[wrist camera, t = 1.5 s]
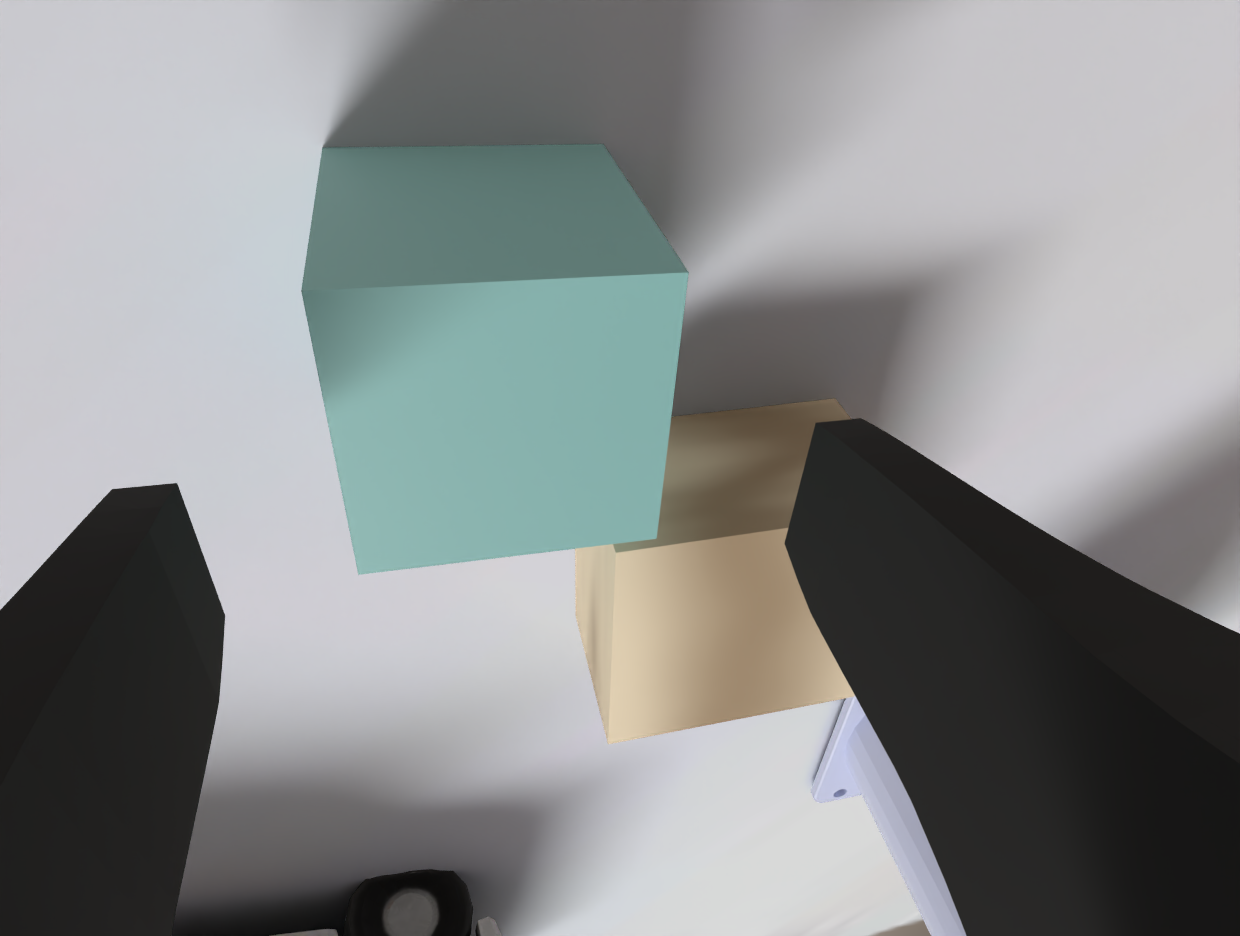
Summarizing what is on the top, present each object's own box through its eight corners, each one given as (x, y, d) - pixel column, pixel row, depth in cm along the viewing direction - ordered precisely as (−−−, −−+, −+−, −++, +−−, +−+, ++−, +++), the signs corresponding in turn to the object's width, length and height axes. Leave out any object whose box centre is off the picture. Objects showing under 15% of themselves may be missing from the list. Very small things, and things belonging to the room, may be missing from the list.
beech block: (831, 393, 19) (920, 508, 16) (789, 575, 22) (854, 696, 19) (573, 422, 17) (616, 553, 14) (574, 609, 21) (607, 744, 18)
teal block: (602, 142, 14) (689, 272, 10) (591, 371, 17) (656, 538, 13) (322, 145, 13) (301, 291, 9) (362, 387, 16) (358, 574, 12)
